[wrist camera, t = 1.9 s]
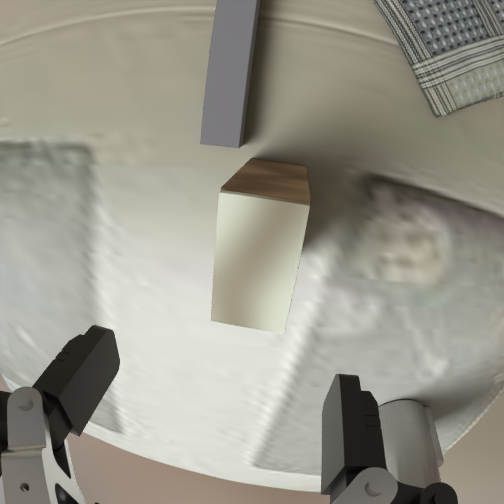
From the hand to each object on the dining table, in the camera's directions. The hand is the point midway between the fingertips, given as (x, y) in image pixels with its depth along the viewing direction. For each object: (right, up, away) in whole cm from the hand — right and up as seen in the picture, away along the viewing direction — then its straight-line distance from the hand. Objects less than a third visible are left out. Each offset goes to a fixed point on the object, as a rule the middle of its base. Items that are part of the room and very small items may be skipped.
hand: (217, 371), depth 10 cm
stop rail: (0, +19, +11) cm, 22 cm away
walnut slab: (+3, +8, +16) cm, 18 cm away
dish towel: (+20, +26, +6) cm, 33 cm away
